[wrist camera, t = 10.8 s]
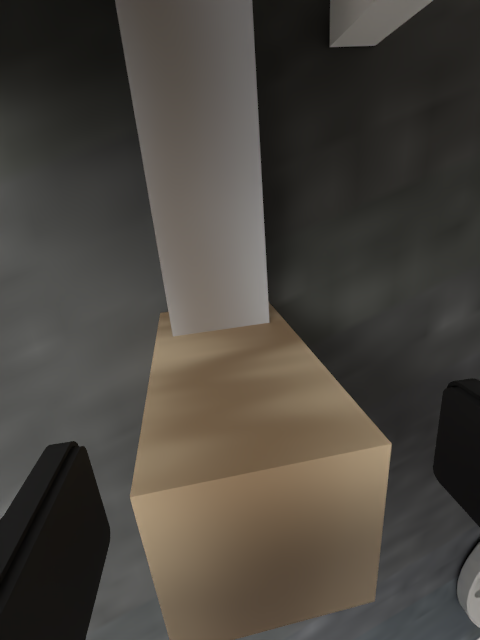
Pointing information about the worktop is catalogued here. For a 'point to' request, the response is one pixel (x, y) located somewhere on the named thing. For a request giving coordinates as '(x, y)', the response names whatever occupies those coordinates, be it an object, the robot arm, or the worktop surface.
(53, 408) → the worktop surface
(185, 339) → the push stick
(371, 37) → the cabinet
